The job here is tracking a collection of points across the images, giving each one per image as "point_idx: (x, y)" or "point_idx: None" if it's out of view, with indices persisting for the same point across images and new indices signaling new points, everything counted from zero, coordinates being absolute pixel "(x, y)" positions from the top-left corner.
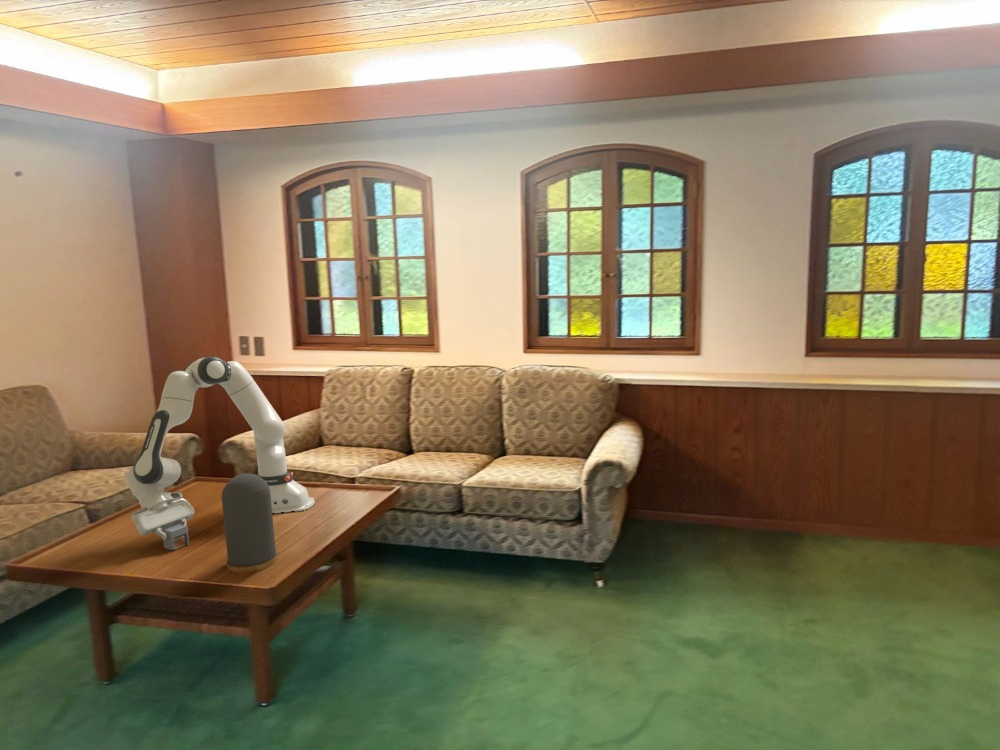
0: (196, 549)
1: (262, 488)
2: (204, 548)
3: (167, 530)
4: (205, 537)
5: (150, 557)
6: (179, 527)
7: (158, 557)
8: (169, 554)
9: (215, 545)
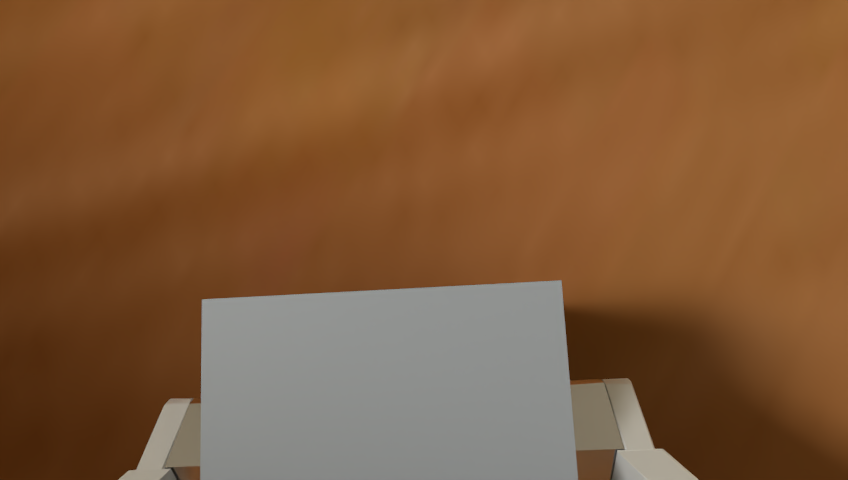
0: (353, 102)
1: None
2: (290, 48)
3: (570, 443)
4: (51, 359)
5: (799, 380)
6: (332, 369)
7: (739, 285)
8: (611, 250)
9: (176, 18)
